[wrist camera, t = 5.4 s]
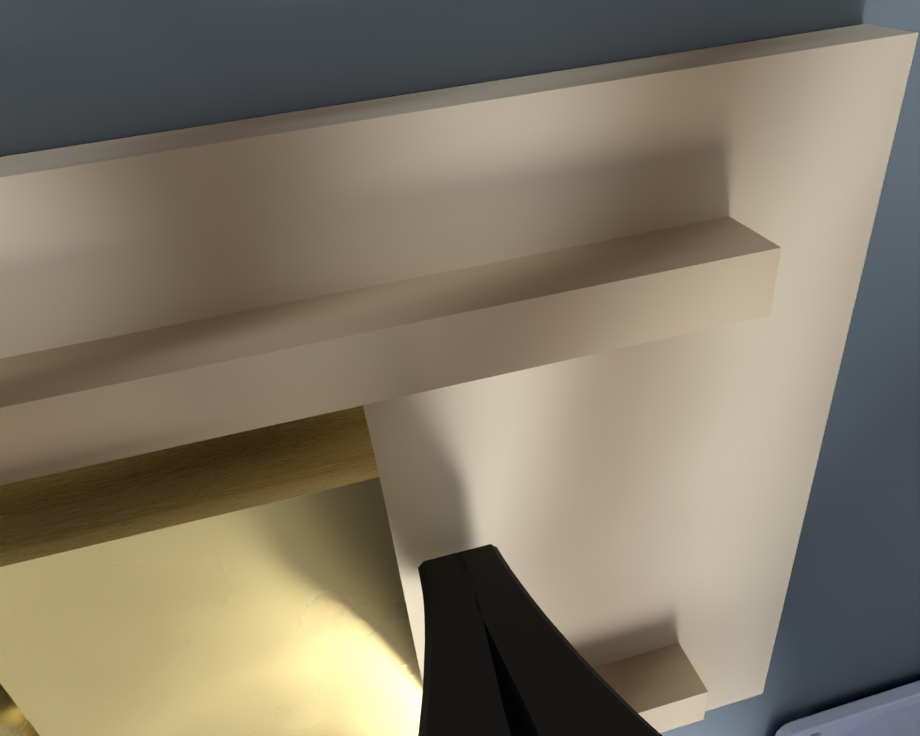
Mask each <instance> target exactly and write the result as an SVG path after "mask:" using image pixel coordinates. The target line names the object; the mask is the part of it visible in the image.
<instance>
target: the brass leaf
mask: <svg viewBox="0 0 920 736" xmlns="http://www.w3.org/2000/svg"><path fill="white" fill-rule="evenodd" d="M422 692H423V683H422V678H421V673H420V669H419V664H418V659H417V654H416V649H415V645H414V640H413V635H412V630H411V625H410V620H409V616H408V611H407V606H406V601H405V596H404V592H403V587H402V582H401V577H400V572H399V568H398V563H397V558H396V553H395V548H394V544H393V539H392V534H391V529H390V524H389V519H388V515H387V510H386V505H385V500H384V495H383V491H382V486H381V481H380V476H379V472H378V468H377V463H376V459H375V455H374V451H373V446H372V442H371V438H370V434H369V429H368V425H367V421H366V416H365V412H364V408H363V405H362V406H357V407H353V408H348V409H344V410H339V411H335V412H330V413H325V414H321V415H316V416H312V417H307V418H303V419H298V420H294V421H289V422H285V423H280V424H276V425H271V426H267V427H262V428H258V429H253V430H249V431H244V432H240V433H235V434H230V435H226V436H221V437H217V438H212V439H208V440H203V441H199V442H194V443H190V444H185V445H181V446H176V447H172V448H167V449H163V450H158V451H154V452H149V453H144V454H140V455H135V456H131V457H126V458H122V459H117V460H113V461H108V462H104V463H99V464H95V465H90V466H86V467H81V468H77V469H72V470H68V471H63V472H58V473H54V474H49V475H45V476H40V477H36V478H31V479H27V480H22V481H18V482H13V483H9V484H4V485H0V736H418V732H419V722H420V713H421V703H422Z"/></svg>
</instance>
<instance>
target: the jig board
mask: <svg viewBox="0 0 920 736" xmlns="http://www.w3.org/2000/svg"><path fill="white" fill-rule="evenodd" d="M918 34H919V32H915V31H908V30H902V29H895V28H889V27H882V26H876V25H870V24H860V25H854V26H847V27H841V28H834V29H828V30H821V31H815V32H808V33H802V34H795V35H789V36H782V37H776V38H769V39H763V40H756V41H750V42H743V43H737V44H730V45H724V46H717V47H711V48H704V49H698V50H691V51H685V52H678V53H672V54H665V55H659V56H653V57H646V58H640V59H633V60H627V61H620V62H614V63H607V64H601V65H594V66H588V67H581V68H575V69H568V70H562V71H555V72H549V73H542V74H536V75H529V76H523V77H516V78H510V79H503V80H497V81H490V82H484V83H477V84H471V85H464V86H458V87H451V88H445V89H438V90H432V91H425V92H419V93H412V94H406V95H399V96H393V97H386V98H380V99H373V100H367V101H360V102H354V103H347V104H341V105H334V106H328V107H321V108H315V109H308V110H302V111H295V112H289V113H282V114H276V115H269V116H263V117H256V118H250V119H244V120H237V121H231V122H224V123H218V124H211V125H205V126H198V127H192V128H185V129H179V130H172V131H166V132H159V133H153V134H146V135H140V136H133V137H127V138H120V139H114V140H107V141H101V142H94V143H88V144H81V145H75V146H68V147H62V148H55V149H49V150H42V151H36V152H29V153H23V154H16V155H10V156H3V157H0V485H4V484H9V483H13V482H18V481H22V480H27V479H31V478H36V477H40V476H45V475H49V474H54V473H58V472H63V471H68V470H72V469H77V468H81V467H86V466H90V465H95V464H99V463H104V462H108V461H113V460H117V459H122V458H126V457H131V456H135V455H140V454H144V453H149V452H154V451H158V450H163V449H167V448H172V447H176V446H181V445H185V444H190V443H194V442H199V441H203V440H208V439H212V438H217V437H221V436H226V435H230V434H235V433H240V432H244V431H249V430H253V429H258V428H262V427H267V426H271V425H276V424H280V423H285V422H289V421H294V420H298V419H303V418H307V417H312V416H316V415H321V414H325V413H330V412H335V411H339V410H344V409H348V408H353V407H357V406H362V405H363V408H364V412H365V416H366V421H367V425H368V429H369V434H370V438H371V442H372V446H373V451H374V455H375V459H376V463H377V468H378V472H379V476H380V481H381V486H382V491H383V495H384V500H385V505H386V510H387V515H388V519H389V524H390V529H391V534H392V539H393V544H394V548H395V553H396V558H397V563H398V568H399V572H400V577H401V582H402V587H403V592H404V596H405V601H406V606H407V611H408V616H409V620H410V625H411V630H412V635H413V640H414V645H415V649H416V654H417V659H418V664H419V669H420V673H421V678H422V683H423V673H424V648H425V623H424V602H423V593H422V587H421V582H420V576H419V571H418V567H419V566H420V565H421V564H422V563H423V562H424V561H426V560H430V559H434V558H438V557H442V556H446V555H450V554H453V553H457V552H461V551H465V550H469V549H473V548H477V547H480V546H484V545H488V544H491V545H493V546H495V547H497V548H498V550H499V551H500V553H501V555H502V556H503V558H504V559H505V561H506V562H507V564H508V565H509V567H510V568H511V570H512V571H513V573H514V574H515V575H516V577H517V578H518V580H519V581H520V582H521V584H522V585H523V586H524V588H525V589H526V590H527V592H528V593H529V594H530V596H531V597H532V598H533V599H534V601H535V602H536V603H537V604H538V606H539V607H540V608H541V610H542V611H543V612H544V613H545V614H546V616H547V617H548V618H549V619H550V620H551V622H552V623H553V624H554V625H555V626H556V627H557V629H558V630H559V631H560V632H561V633H562V634H563V635H564V637H565V638H566V639H567V640H568V641H569V642H570V643H571V645H572V646H573V647H574V648H575V649H576V650H577V651H578V653H579V654H580V655H581V656H582V657H583V658H584V659H585V660H586V661H587V662H588V663H589V664H590V666H591V667H592V668H593V669H594V670H595V671H596V672H597V673H598V674H599V675H600V676H601V677H602V678H603V679H604V680H605V681H606V682H607V683H608V684H609V685H610V686H611V687H612V688H613V689H614V690H615V691H616V692H617V693H618V694H619V695H620V696H621V697H622V698H623V699H624V700H625V701H626V702H627V703H628V704H629V705H630V706H631V707H632V708H633V709H634V710H635V711H636V712H637V713H638V714H639V715H640V716H641V717H643V718H644V719H645V720H646V721H647V722H648V723H649V724H650V725H651V726H652V727H653V728H655V729H656V730H657V731H658V732H659V733H662V732H665V731H668V730H671V729H675V728H678V727H681V726H684V725H687V724H691V723H694V722H697V721H700V720H703V719H704V715H705V711H709V710H712V709H715V708H718V707H721V706H725V705H728V704H731V703H734V702H738V701H741V700H744V699H747V698H750V697H754V696H757V695H760V694H763V690H764V685H765V681H766V677H767V673H768V669H769V664H770V660H771V656H772V652H773V647H774V643H775V639H776V635H777V630H778V626H779V622H780V618H781V614H782V609H783V605H784V601H785V597H786V592H787V588H788V584H789V580H790V575H791V571H792V567H793V563H794V559H795V554H796V550H797V546H798V542H799V537H800V533H801V529H802V525H803V520H804V516H805V512H806V508H807V504H808V499H809V495H810V491H811V487H812V482H813V478H814V474H815V470H816V465H817V461H818V457H819V453H820V448H821V444H822V440H823V436H824V432H825V427H826V423H827V419H828V415H829V410H830V406H831V402H832V398H833V393H834V389H835V385H836V381H837V377H838V372H839V368H840V364H841V360H842V355H843V351H844V347H845V343H846V338H847V334H848V330H849V326H850V322H851V317H852V313H853V309H854V305H855V300H856V296H857V292H858V288H859V283H860V279H861V275H862V271H863V266H864V262H865V258H866V254H867V250H868V245H869V241H870V237H871V233H872V228H873V224H874V220H875V216H876V211H877V207H878V203H879V199H880V195H881V190H882V186H883V182H884V178H885V173H886V169H887V165H888V161H889V156H890V152H891V148H892V144H893V140H894V135H895V131H896V127H897V123H898V118H899V114H900V110H901V106H902V101H903V97H904V93H905V89H906V85H907V80H908V76H909V72H910V68H911V63H912V59H913V55H914V51H915V46H916V42H917V38H918Z"/></svg>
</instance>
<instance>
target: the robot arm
mask: <svg viewBox="0 0 920 736" xmlns="http://www.w3.org/2000/svg"><path fill="white" fill-rule="evenodd" d="M418 571H419V576H420V582H421V587H422V593H423V602H424V623H425V648H424V673H423V692H422V703H421V713H420V722H419V732H418V736H662V735H661V734H660V733H659V732H658V731H657V730H656V729H655V728H653V727H652V726H651V725H650V724H649V723H648V722H647V721H646V720H645V719H644V718H643V717H641V716H640V715H639V714H638V713H637V712H636V711H635V710H634V709H633V708H632V707H631V706H630V705H629V704H628V703H627V702H626V701H625V700H624V699H623V698H622V697H621V696H620V695H619V694H618V693H617V692H616V691H615V690H614V689H613V688H612V687H611V686H610V685H609V684H608V683H607V682H606V681H605V680H604V679H603V678H602V677H601V676H600V675H599V674H598V673H597V672H596V671H595V670H594V669H593V668H592V667H591V666H590V664H589V663H588V662H587V661H586V660H585V659H584V658H583V657H582V656H581V655H580V654H579V653H578V651H577V650H576V649H575V648H574V647H573V646H572V645H571V643H570V642H569V641H568V640H567V639H566V638H565V637H564V635H563V634H562V633H561V632H560V631H559V630H558V629H557V627H556V626H555V625H554V624H553V623H552V622H551V620H550V619H549V618H548V617H547V616H546V614H545V613H544V612H543V611H542V610H541V608H540V607H539V606H538V604H537V603H536V602H535V601H534V599H533V598H532V597H531V596H530V594H529V593H528V592H527V590H526V589H525V588H524V586H523V585H522V584H521V582H520V581H519V580H518V578H517V577H516V575H515V574H514V573H513V571H512V570H511V568H510V567H509V565H508V564H507V562H506V561H505V559H504V558H503V556H502V555H501V553H500V551H499V550H498V548H497V547H495V546H493V545H491V544H488V545H484V546H480V547H477V548H473V549H469V550H465V551H461V552H457V553H453V554H450V555H446V556H442V557H438V558H434V559H430V560H426V561H424V562H423V563H422V564H421V565H420V566H419V567H418ZM775 736H920V680H919V681H916V682H913V683H910V684H907V685H903V686H900V687H897V688H894V689H891V690H888V691H885V692H882V693H878V694H875V695H872V696H869V697H866V698H863V699H860V700H857V701H854V702H850V703H847V704H844V705H841V706H838V707H835V708H832V709H829V710H825V711H822V712H819V713H816V714H813V715H810V716H807V717H804V718H801V719H797V720H794V721H791V722H789V723H787V724H785V725H783V726H782V727H781V728H780V729H779V730H778V731H777V732H776V734H775Z"/></svg>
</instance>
